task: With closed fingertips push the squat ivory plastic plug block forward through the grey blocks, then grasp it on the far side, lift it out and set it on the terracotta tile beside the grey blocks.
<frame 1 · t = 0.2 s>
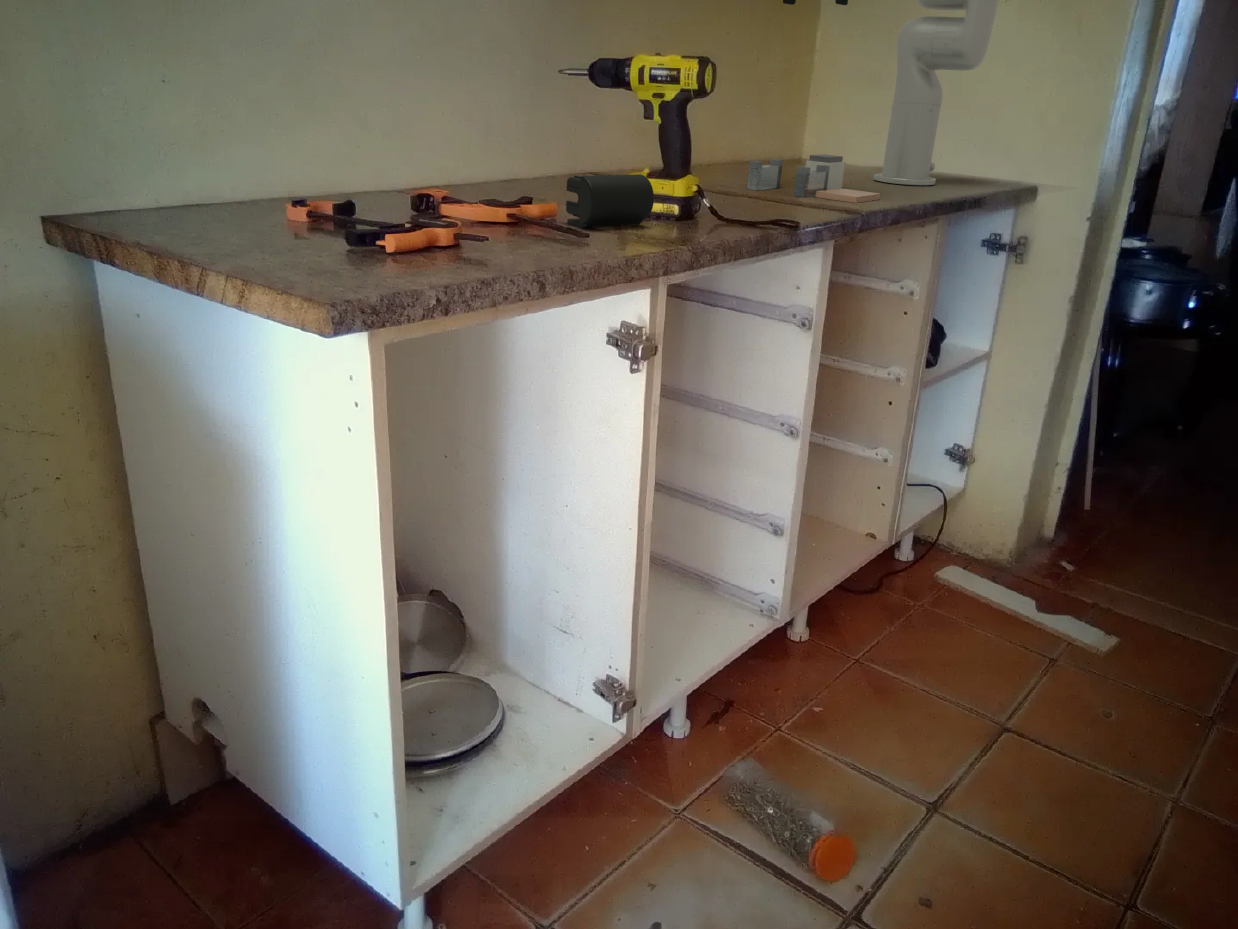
hand: (814, 4, 156), 31 cm above the worktop, fingers open, 9 cm apart
pad: (847, 198, 169), on the worktop
end cap: (607, 227, 128), on the worktop
plug: (822, 188, 183), on the worktop
grey blocks: (786, 191, 174), on the worktop
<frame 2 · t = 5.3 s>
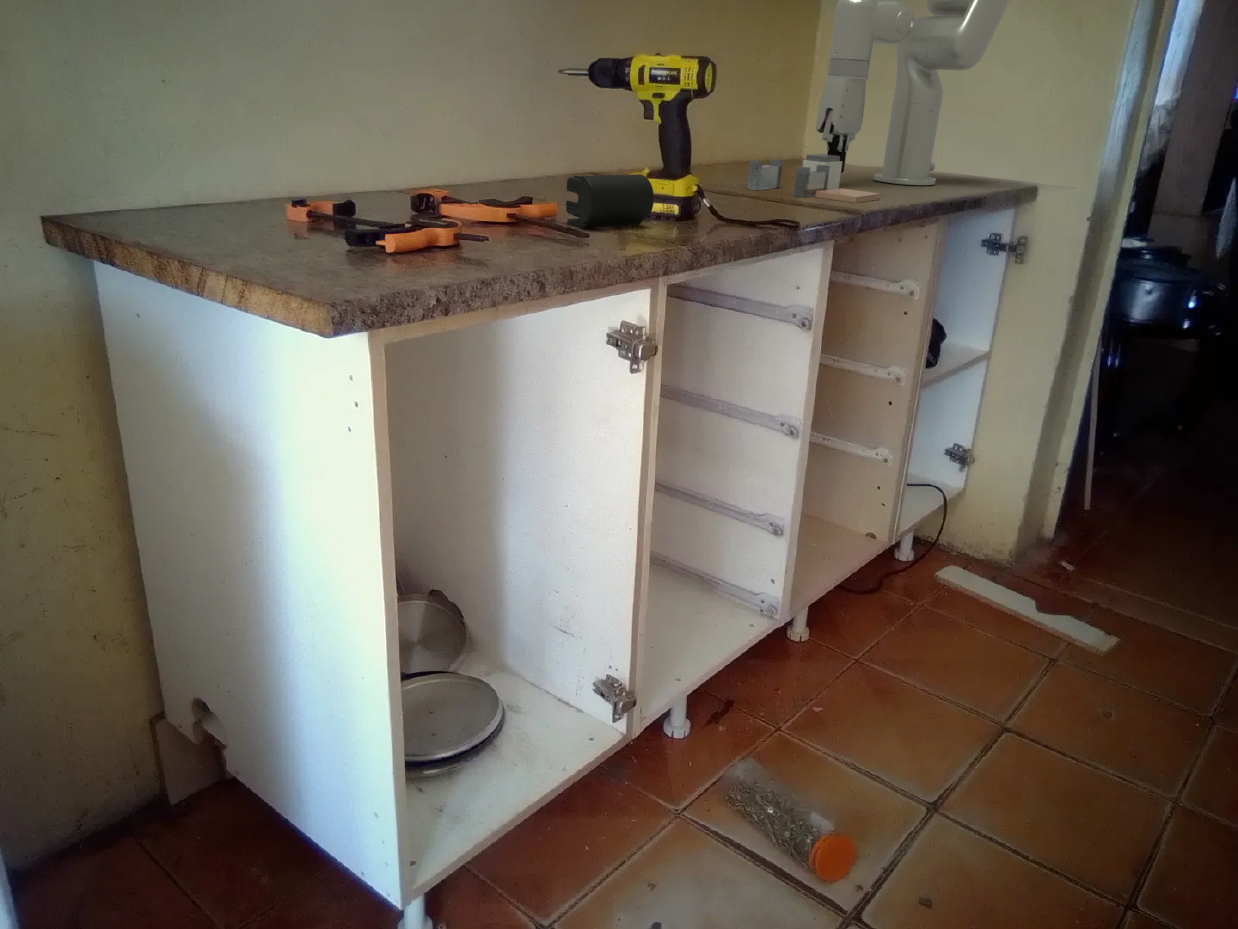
hand: (834, 172, 184), 3 cm above the worktop, fingers closed
plug: (819, 187, 182), on the worktop, touching gripper
everything else where it was.
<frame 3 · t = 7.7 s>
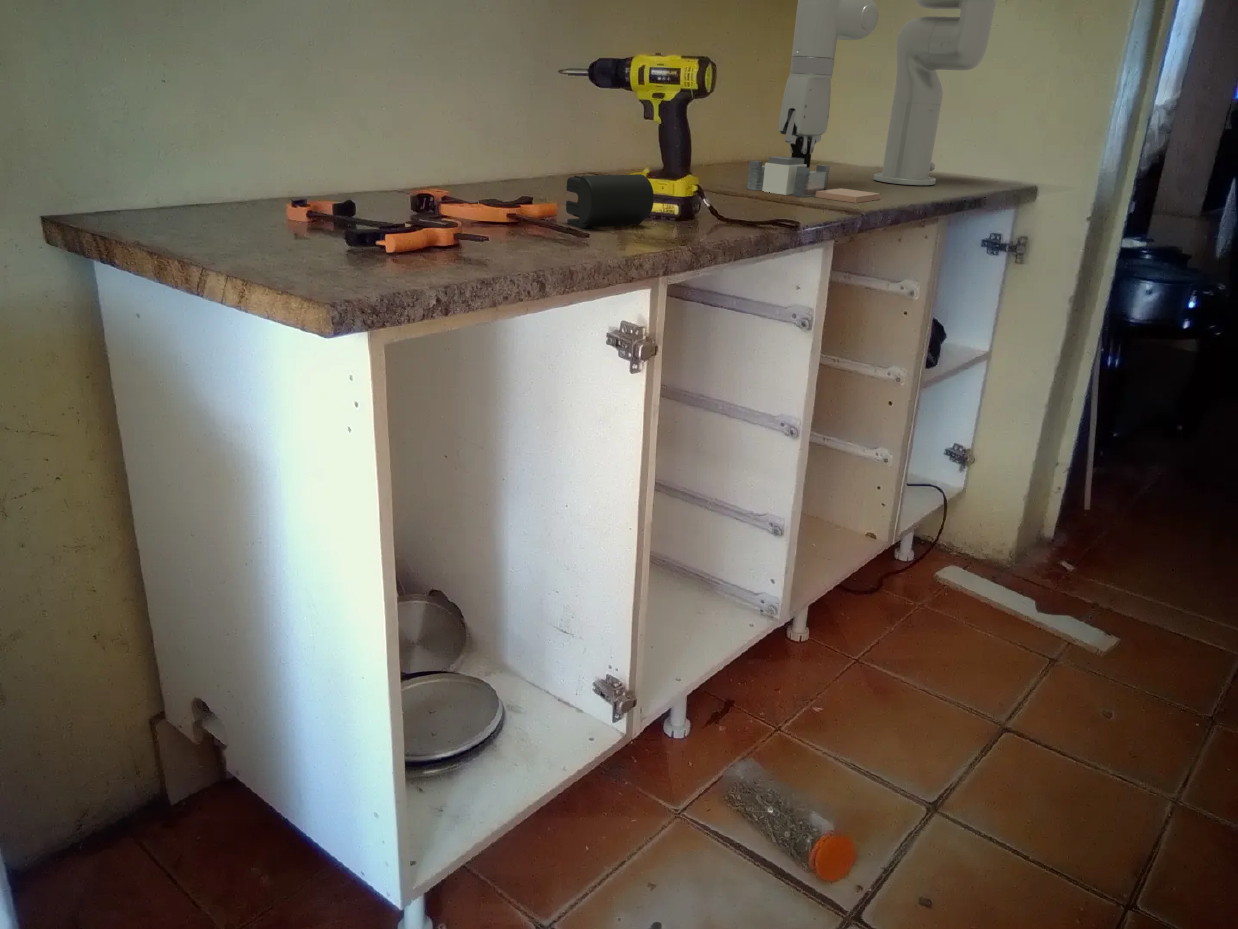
hand: (798, 175, 175), 3 cm above the worktop, fingers closed
plug: (782, 192, 173), on the worktop, touching gripper
everything else where it was.
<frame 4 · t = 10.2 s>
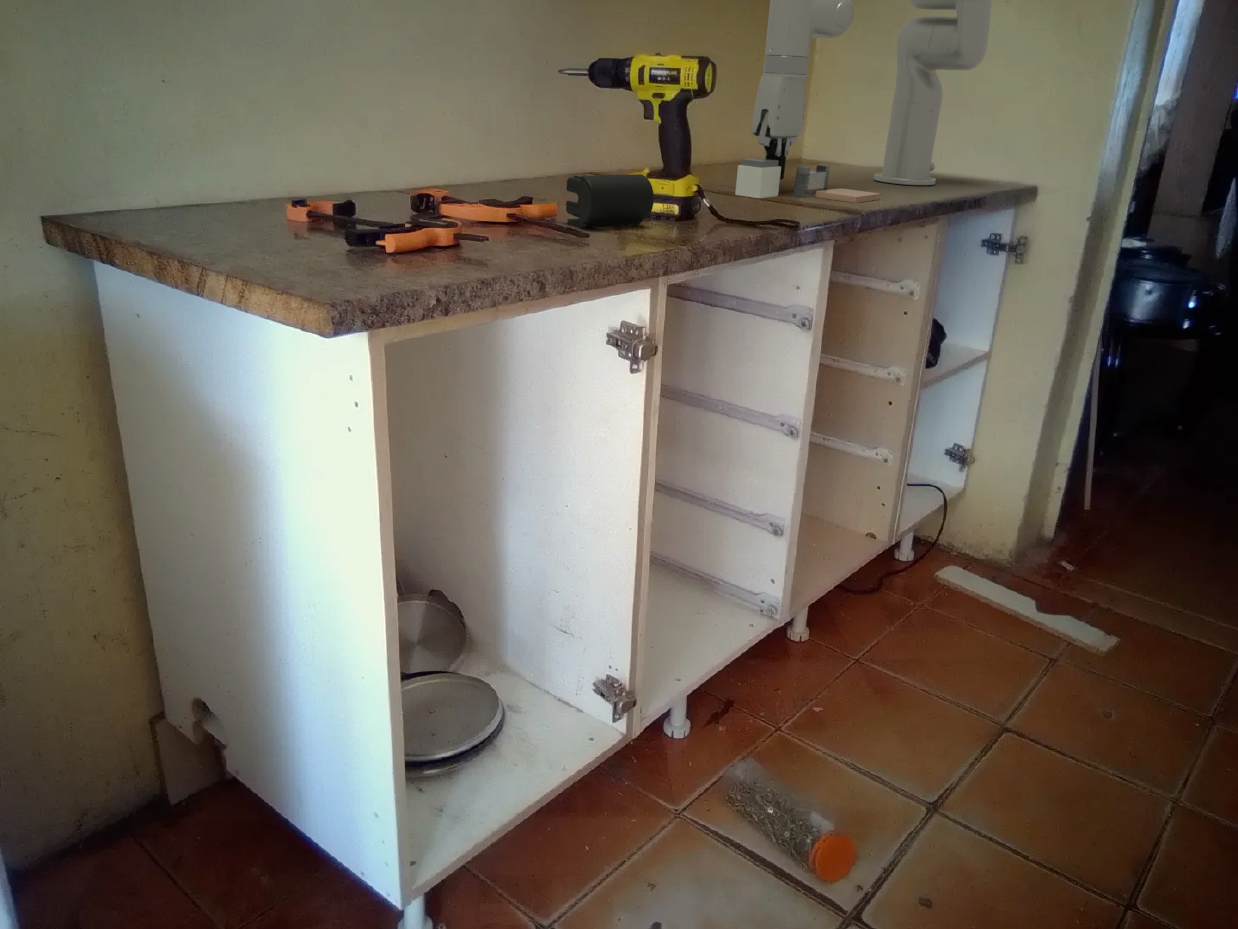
hand: (773, 178, 169), 3 cm above the worktop, fingers closed
plug: (756, 195, 167), on the worktop, touching gripper
everything else where it was.
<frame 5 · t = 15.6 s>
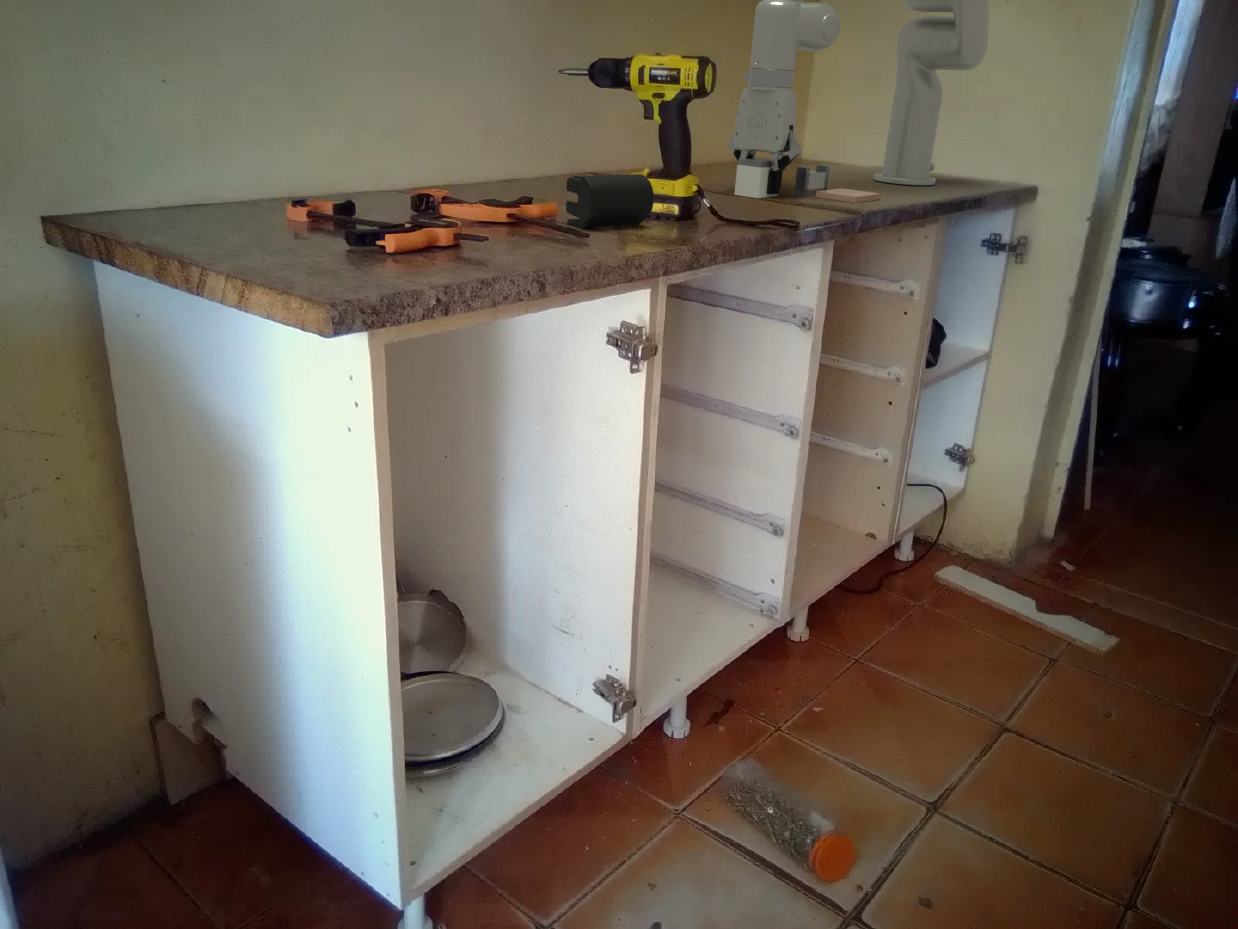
hand: (759, 190, 167), 1 cm above the worktop, fingers closed on plug, 5 cm apart
plug: (755, 195, 167), on the worktop, touching gripper
everything else where it was.
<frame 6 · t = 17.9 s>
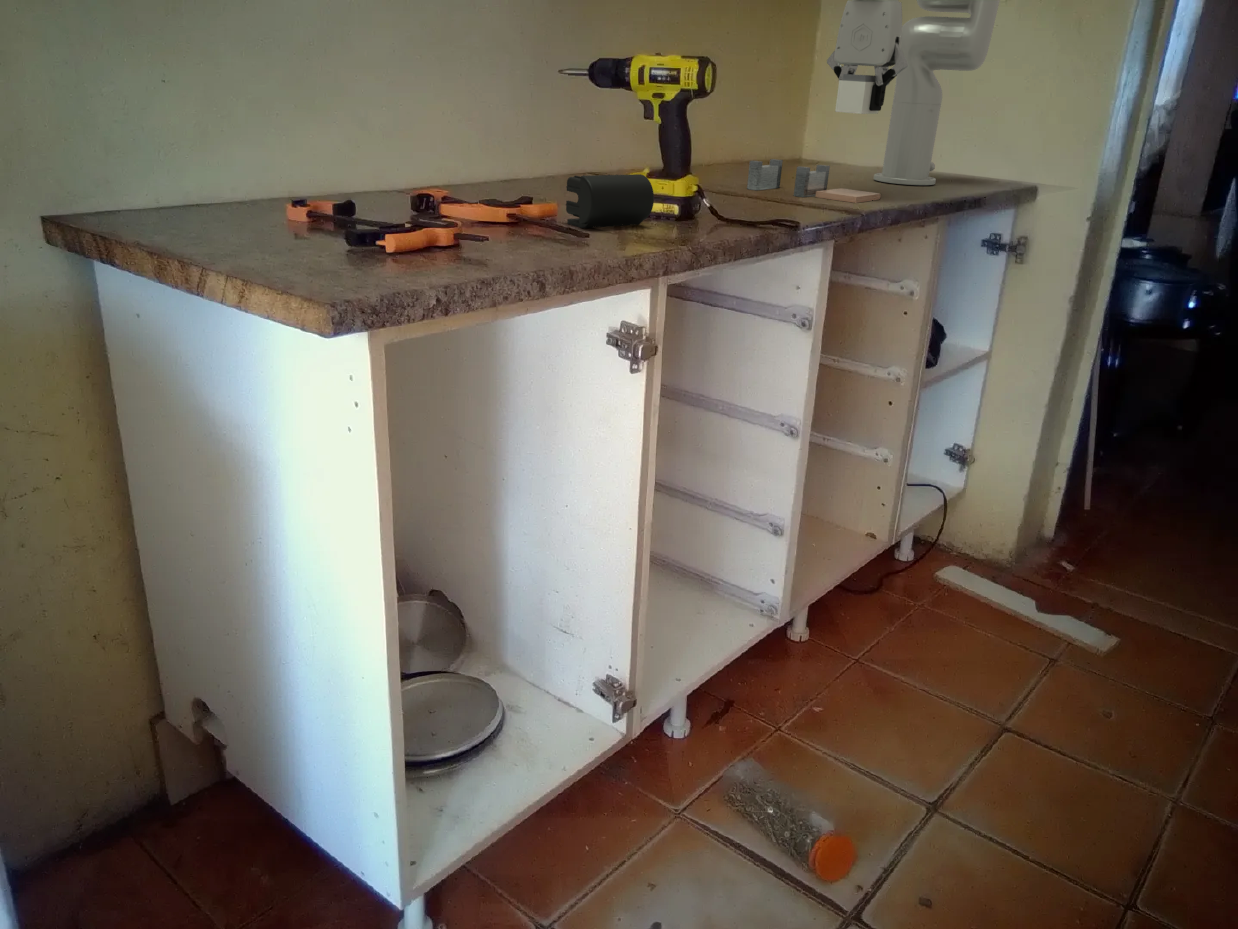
hand: (860, 108, 163), 15 cm above the worktop, fingers closed on plug, 5 cm apart
plug: (856, 112, 163), point 14 cm above the worktop, touching gripper
everything else where it was.
when the fingers open (3 cm above the worktop, at t = 20.6 s): plug drops 1 cm, resting on pad.
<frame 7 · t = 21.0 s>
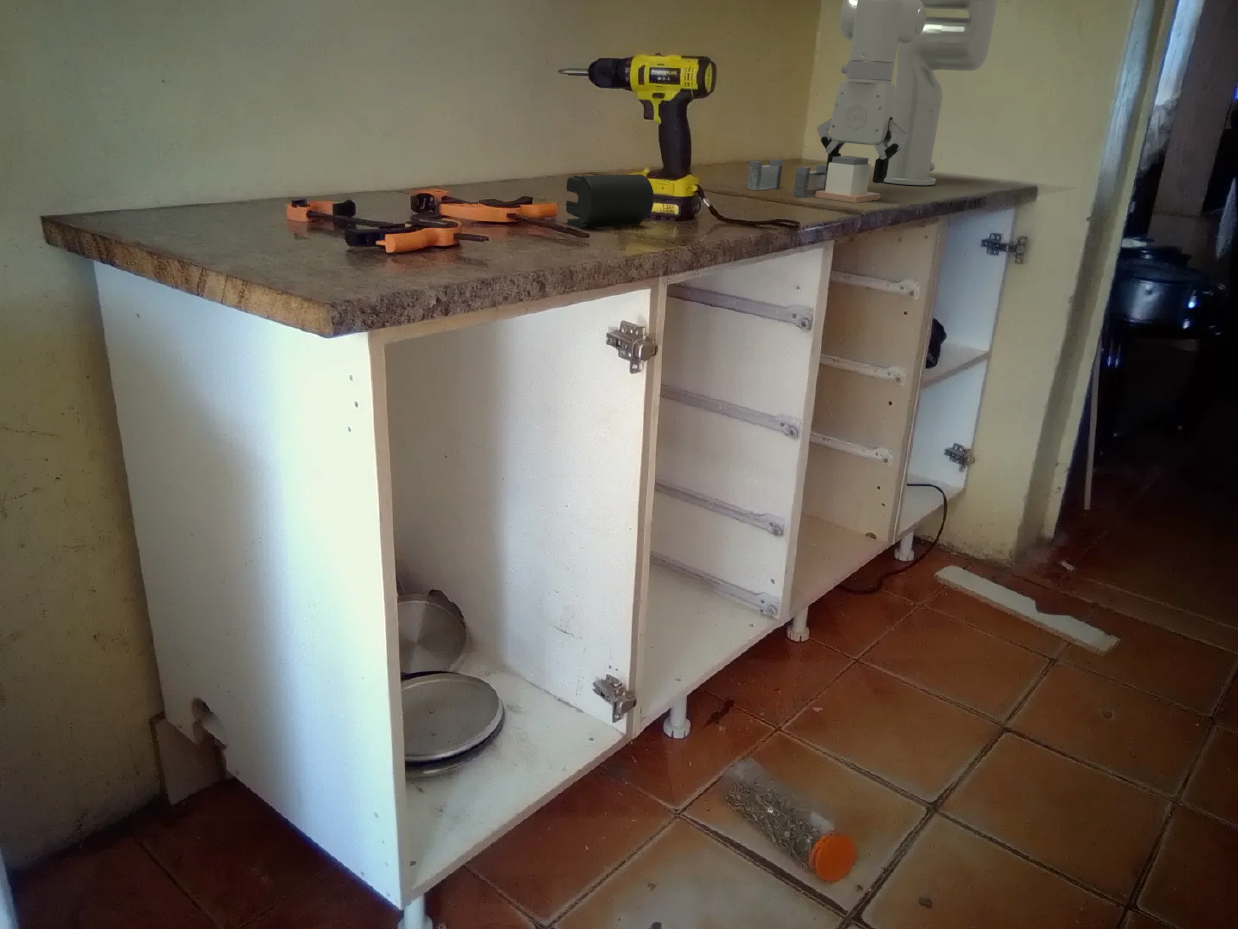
hand: (854, 179, 168), 3 cm above the worktop, fingers open, 8 cm apart
plug: (845, 192, 168), point 1 cm above the worktop, touching pad
everything else where it was.
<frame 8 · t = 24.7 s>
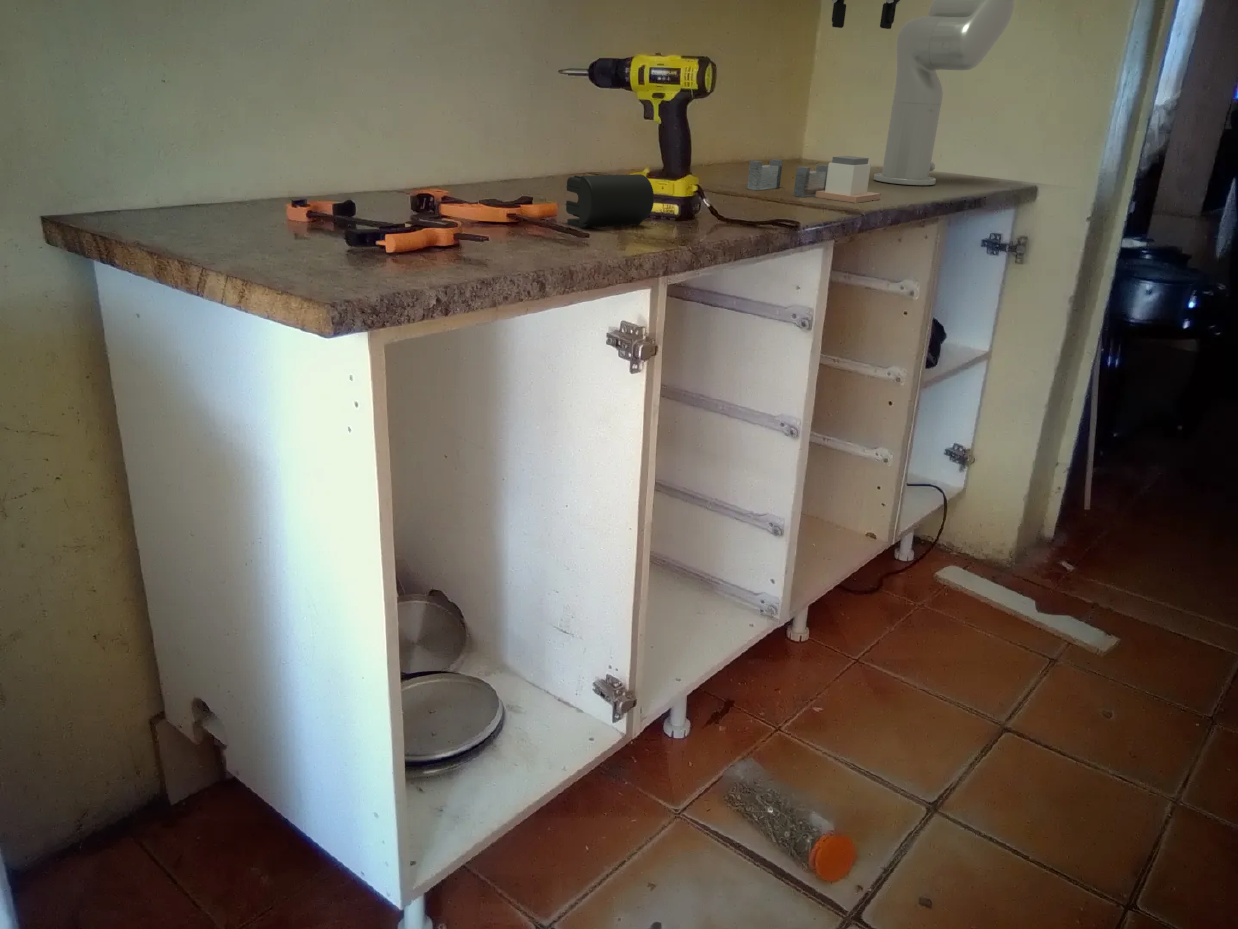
hand: (861, 27, 173), 28 cm above the worktop, fingers open, 9 cm apart
nothing on the worktop moved.
at the end: plug inside the target area on the pad (0.8 cm from its centre), point 1.0 cm above the pad's base; plug tilted 0°; the gripper is holding nothing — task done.
